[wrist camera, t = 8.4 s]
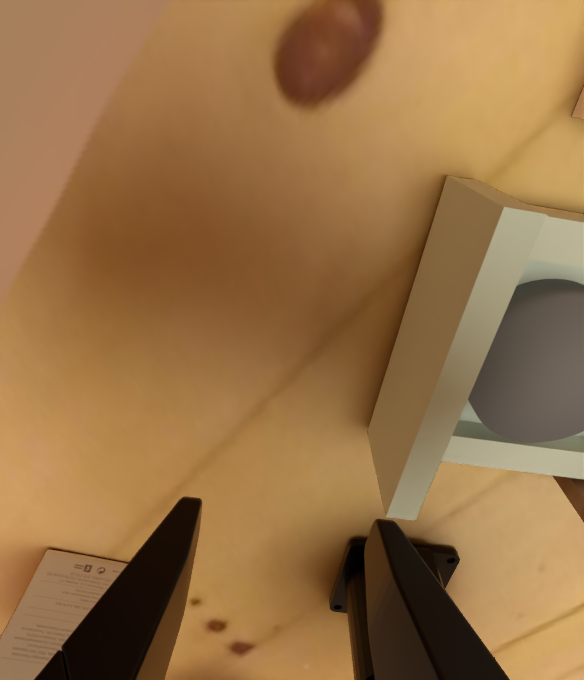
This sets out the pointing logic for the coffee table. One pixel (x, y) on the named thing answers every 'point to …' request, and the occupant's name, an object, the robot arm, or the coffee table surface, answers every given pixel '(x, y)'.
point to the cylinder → (535, 365)
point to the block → (579, 107)
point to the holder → (573, 492)
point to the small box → (52, 610)
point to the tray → (466, 342)
